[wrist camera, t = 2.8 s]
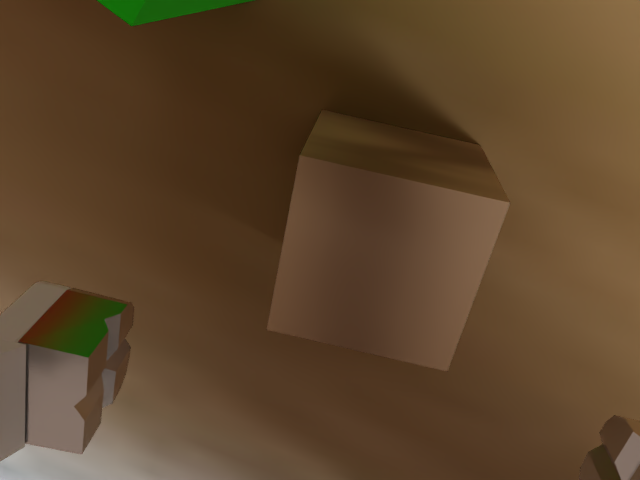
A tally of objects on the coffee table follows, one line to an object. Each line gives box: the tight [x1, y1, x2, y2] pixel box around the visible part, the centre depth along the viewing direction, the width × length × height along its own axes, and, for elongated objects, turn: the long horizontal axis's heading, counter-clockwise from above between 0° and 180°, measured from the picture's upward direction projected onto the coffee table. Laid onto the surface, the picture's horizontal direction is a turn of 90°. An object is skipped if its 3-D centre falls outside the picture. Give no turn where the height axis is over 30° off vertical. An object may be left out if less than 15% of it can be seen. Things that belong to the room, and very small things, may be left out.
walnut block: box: [267, 110, 510, 371], centre depth 17 cm, size 5×5×5 cm
